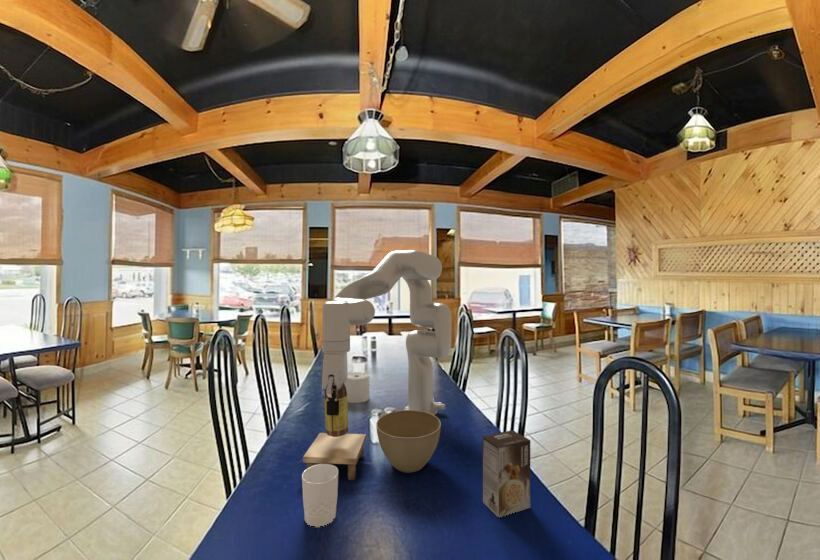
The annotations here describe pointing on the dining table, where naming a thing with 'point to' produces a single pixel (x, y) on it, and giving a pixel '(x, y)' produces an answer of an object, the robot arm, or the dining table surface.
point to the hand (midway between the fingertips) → (336, 409)
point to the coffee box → (506, 473)
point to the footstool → (337, 451)
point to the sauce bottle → (340, 422)
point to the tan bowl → (408, 438)
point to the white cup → (320, 494)
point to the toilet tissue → (357, 387)
